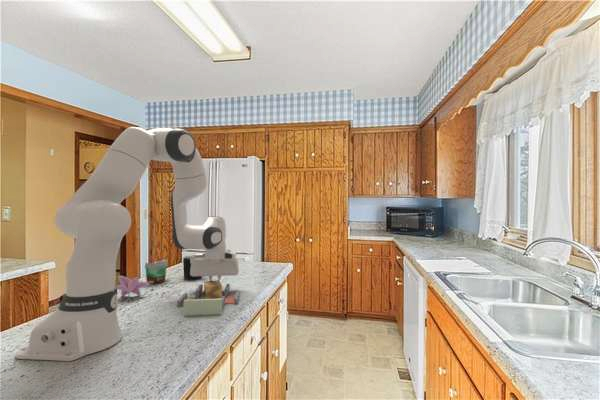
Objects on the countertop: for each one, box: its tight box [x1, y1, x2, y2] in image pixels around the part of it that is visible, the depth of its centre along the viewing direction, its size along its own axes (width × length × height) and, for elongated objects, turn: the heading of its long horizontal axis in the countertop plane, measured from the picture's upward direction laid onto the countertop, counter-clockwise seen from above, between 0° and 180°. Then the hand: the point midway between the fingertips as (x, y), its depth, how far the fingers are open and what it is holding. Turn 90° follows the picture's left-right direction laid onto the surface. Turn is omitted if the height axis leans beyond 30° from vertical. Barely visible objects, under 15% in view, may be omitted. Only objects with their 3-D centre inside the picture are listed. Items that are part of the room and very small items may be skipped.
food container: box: [144, 257, 169, 285], centre depth 140 cm, size 12×6×10 cm, turn 168°
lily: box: [116, 275, 151, 303], centre depth 117 cm, size 12×12×10 cm
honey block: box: [203, 279, 223, 299], centre depth 122 cm, size 6×8×5 cm
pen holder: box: [182, 256, 203, 281], centre depth 148 cm, size 9×9×10 cm
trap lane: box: [176, 283, 240, 316], centre depth 114 cm, size 22×26×5 cm
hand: (214, 285), depth 128 cm, fingers closed
